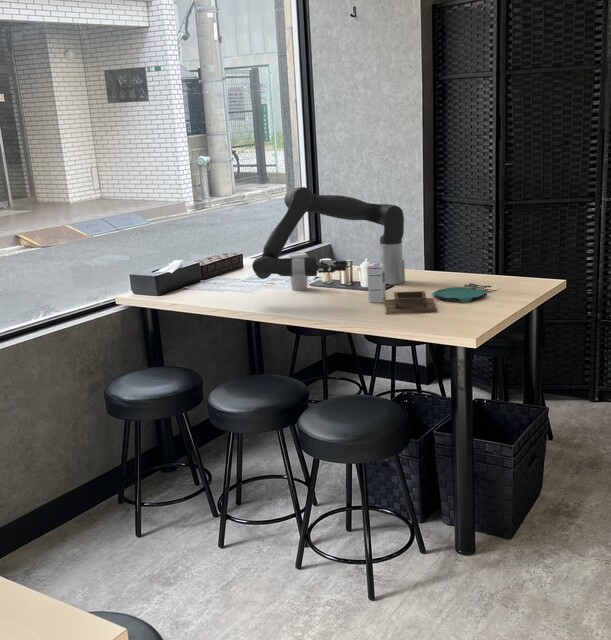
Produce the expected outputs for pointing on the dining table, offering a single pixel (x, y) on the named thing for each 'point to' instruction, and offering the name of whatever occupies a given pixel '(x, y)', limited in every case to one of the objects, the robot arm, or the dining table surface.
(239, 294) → the dining table surface
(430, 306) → the socket stand
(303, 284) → the coffee cup
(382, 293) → the syrup box
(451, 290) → the green flat pad
